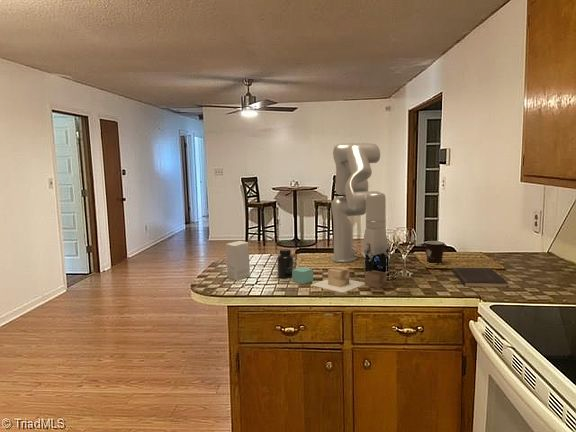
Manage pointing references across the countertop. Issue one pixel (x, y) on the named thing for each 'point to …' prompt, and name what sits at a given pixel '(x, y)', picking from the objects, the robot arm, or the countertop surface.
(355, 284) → the plate
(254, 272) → the countertop surface
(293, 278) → the teal cube
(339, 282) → the oak cube
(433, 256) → the coffee mug
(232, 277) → the skincare box
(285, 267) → the supplement bottle
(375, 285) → the walnut cube
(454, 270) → the hardcover book
